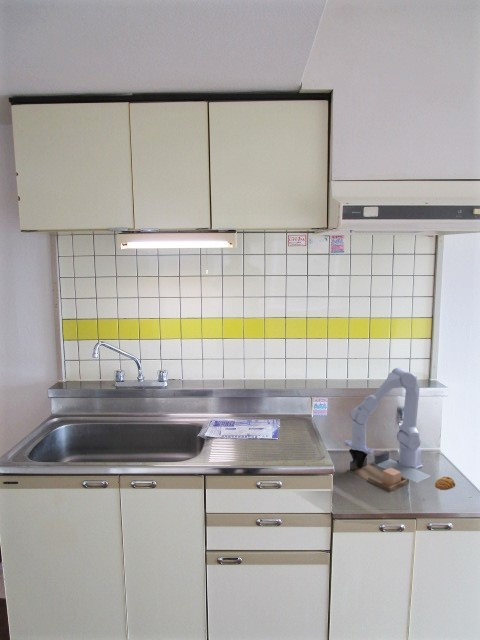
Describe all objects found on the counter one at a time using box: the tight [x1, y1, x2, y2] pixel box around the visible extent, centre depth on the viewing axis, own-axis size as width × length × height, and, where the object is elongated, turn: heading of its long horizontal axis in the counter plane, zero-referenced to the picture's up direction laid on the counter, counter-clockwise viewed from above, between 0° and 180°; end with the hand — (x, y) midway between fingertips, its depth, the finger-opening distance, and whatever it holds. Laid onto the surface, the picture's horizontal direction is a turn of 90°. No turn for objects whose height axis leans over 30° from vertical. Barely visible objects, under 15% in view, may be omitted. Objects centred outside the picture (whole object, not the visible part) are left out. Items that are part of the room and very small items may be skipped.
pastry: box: [434, 476, 457, 491], centre depth 171 cm, size 9×7×4 cm
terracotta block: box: [382, 468, 402, 486], centre depth 172 cm, size 5×5×5 cm
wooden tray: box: [346, 457, 410, 493], centre depth 178 cm, size 12×22×5 cm, turn 34°
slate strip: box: [372, 450, 432, 484], centre depth 184 cm, size 10×22×5 cm, turn 34°
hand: (358, 466), depth 187 cm, fingers closed on wooden tray, 2 cm apart
